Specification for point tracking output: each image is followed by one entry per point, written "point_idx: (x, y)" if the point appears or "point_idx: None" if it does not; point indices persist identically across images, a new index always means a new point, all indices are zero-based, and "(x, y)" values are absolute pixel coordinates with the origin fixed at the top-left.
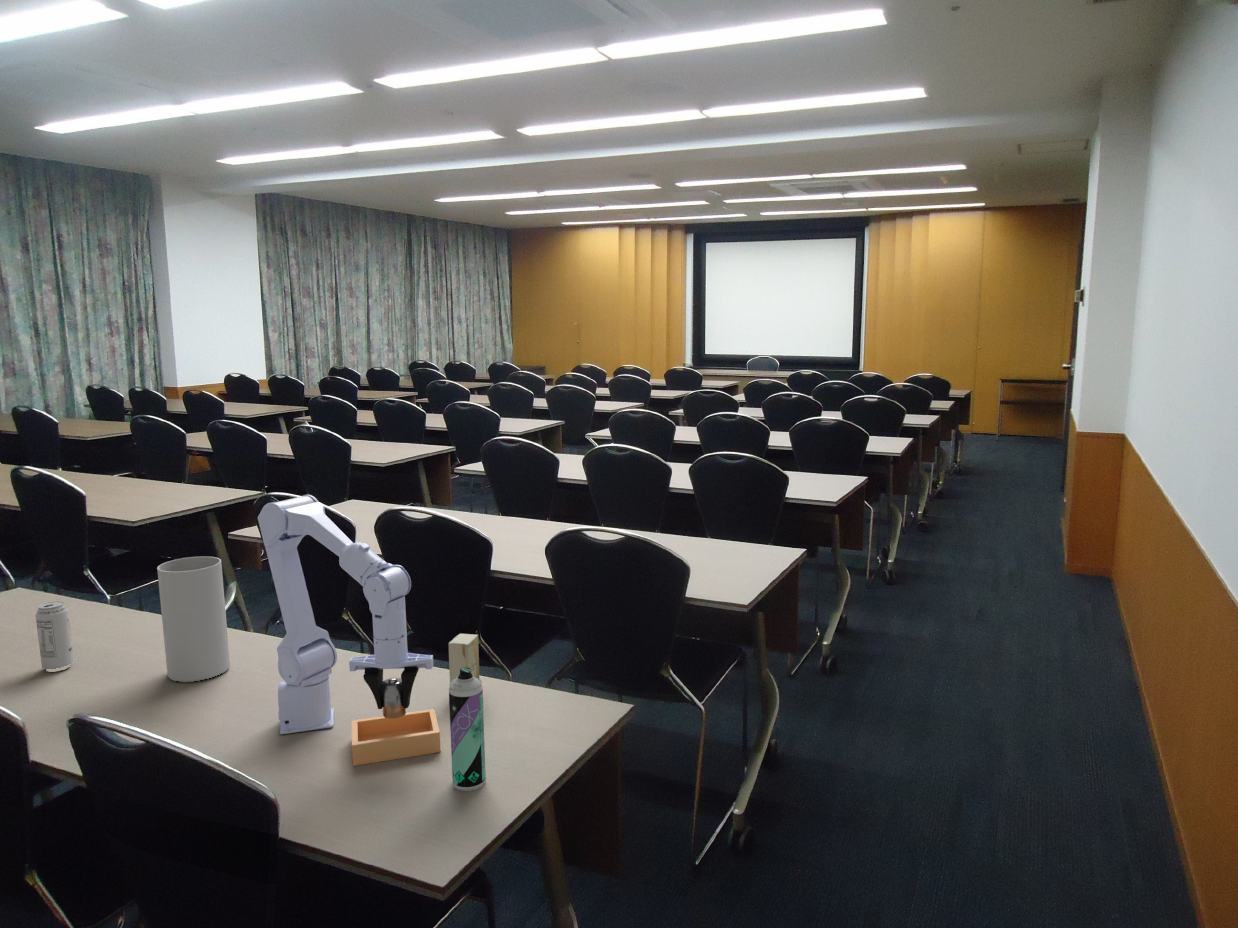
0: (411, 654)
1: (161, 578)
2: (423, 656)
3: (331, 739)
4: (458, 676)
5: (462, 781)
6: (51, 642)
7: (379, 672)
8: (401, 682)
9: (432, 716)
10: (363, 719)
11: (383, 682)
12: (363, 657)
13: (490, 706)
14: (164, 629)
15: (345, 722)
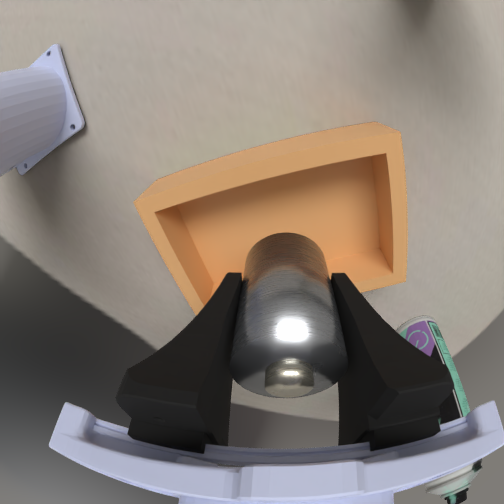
0: (425, 473)
1: None
2: (471, 454)
3: (109, 180)
4: (448, 494)
5: None
6: None
7: (218, 430)
8: (333, 373)
9: (396, 191)
10: (165, 196)
11: (238, 369)
12: (95, 463)
13: (484, 44)
14: None
15: (102, 91)
